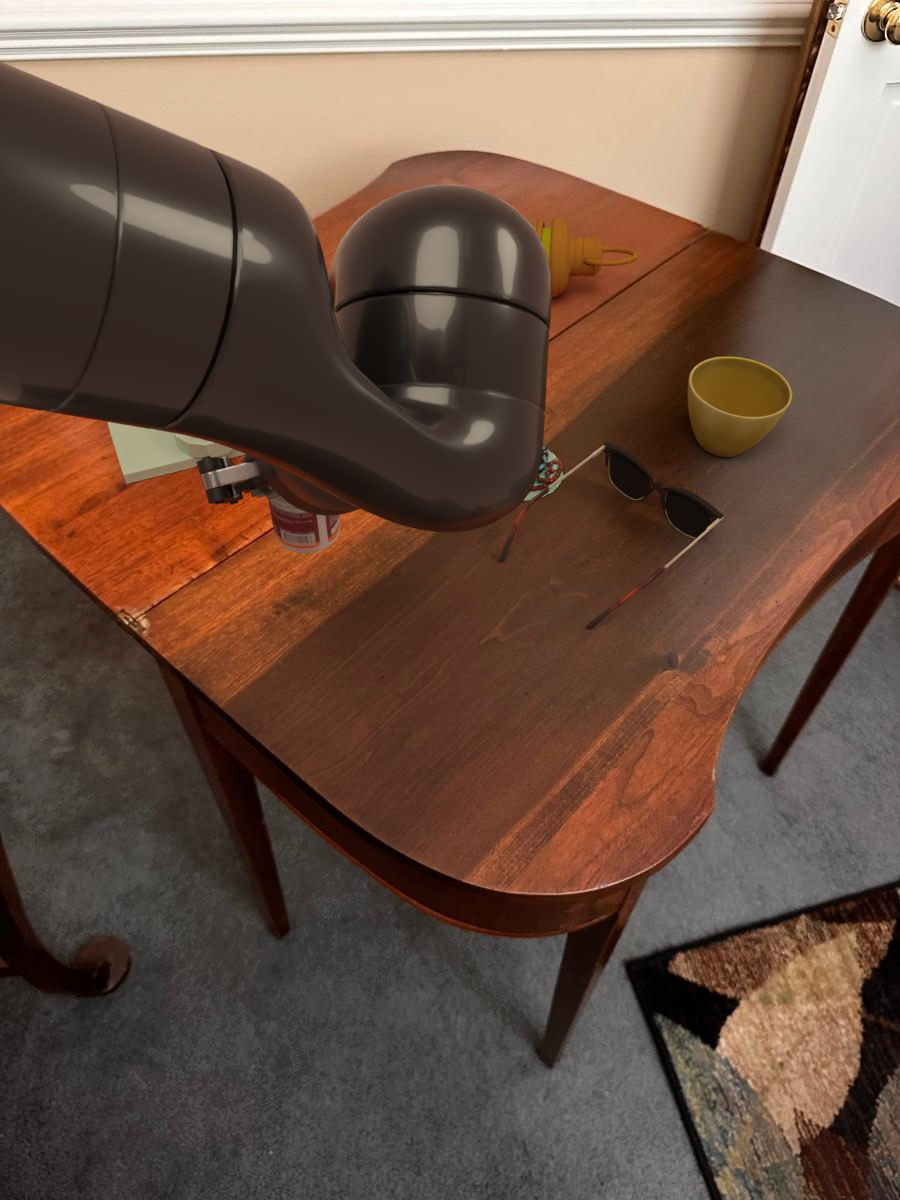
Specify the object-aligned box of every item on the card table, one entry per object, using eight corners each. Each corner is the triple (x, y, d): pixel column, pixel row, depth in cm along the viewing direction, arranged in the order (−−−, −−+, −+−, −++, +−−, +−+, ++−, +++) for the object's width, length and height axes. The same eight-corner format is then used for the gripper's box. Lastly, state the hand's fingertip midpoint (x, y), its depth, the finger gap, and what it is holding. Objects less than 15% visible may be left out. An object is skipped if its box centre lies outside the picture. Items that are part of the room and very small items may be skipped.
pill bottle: (316, 499, 64) (306, 406, 58) (354, 535, 62) (347, 443, 56) (260, 527, 62) (243, 433, 56) (297, 565, 60) (284, 473, 53)
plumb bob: (430, 308, 108) (636, 305, 104) (425, 230, 102) (641, 224, 98) (441, 286, 115) (634, 283, 111) (437, 213, 110) (639, 207, 106)
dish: (531, 412, 90) (538, 416, 82) (565, 472, 91) (575, 481, 84) (465, 454, 91) (466, 461, 83) (500, 511, 92) (504, 524, 85)
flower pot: (736, 488, 87) (758, 431, 82) (654, 441, 91) (669, 384, 86) (787, 443, 92) (811, 386, 86) (706, 400, 96) (724, 344, 91)
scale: (127, 489, 84) (119, 465, 82) (106, 418, 91) (98, 394, 89) (258, 456, 88) (254, 433, 85) (228, 390, 95) (224, 367, 92)
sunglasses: (713, 549, 81) (726, 512, 77) (601, 647, 75) (608, 612, 71) (600, 475, 88) (607, 437, 84) (487, 559, 81) (489, 522, 77)
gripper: (223, 546, 42) (206, 551, 58) (487, 474, 46) (404, 497, 63) (177, 394, 41) (173, 442, 58) (451, 334, 46) (375, 395, 62)
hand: (293, 471), depth 60 cm, fingers closed on pill bottle, 4 cm apart
